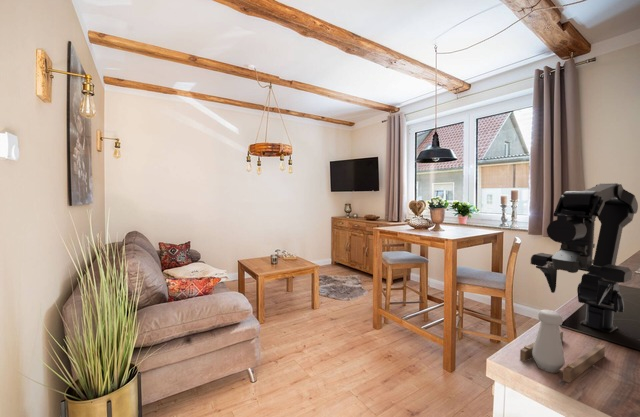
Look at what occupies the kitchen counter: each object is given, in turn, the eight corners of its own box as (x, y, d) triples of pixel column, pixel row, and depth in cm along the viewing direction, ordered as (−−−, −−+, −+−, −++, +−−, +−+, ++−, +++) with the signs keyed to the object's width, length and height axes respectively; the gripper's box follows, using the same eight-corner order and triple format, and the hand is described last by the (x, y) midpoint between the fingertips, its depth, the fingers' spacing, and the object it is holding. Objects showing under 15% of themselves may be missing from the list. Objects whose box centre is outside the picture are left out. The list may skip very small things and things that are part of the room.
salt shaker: (570, 377, 60) (574, 318, 60) (540, 373, 61) (543, 316, 61) (553, 361, 66) (556, 307, 65) (526, 358, 67) (529, 305, 66)
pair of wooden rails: (558, 338, 76) (558, 328, 76) (604, 356, 68) (605, 345, 68) (520, 359, 67) (520, 348, 66) (568, 382, 59) (569, 370, 58)
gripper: (521, 236, 77) (518, 292, 78) (617, 249, 60) (612, 319, 61) (541, 233, 82) (538, 285, 83) (634, 244, 66) (629, 309, 67)
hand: (574, 298), depth 73 cm, fingers open, 9 cm apart
